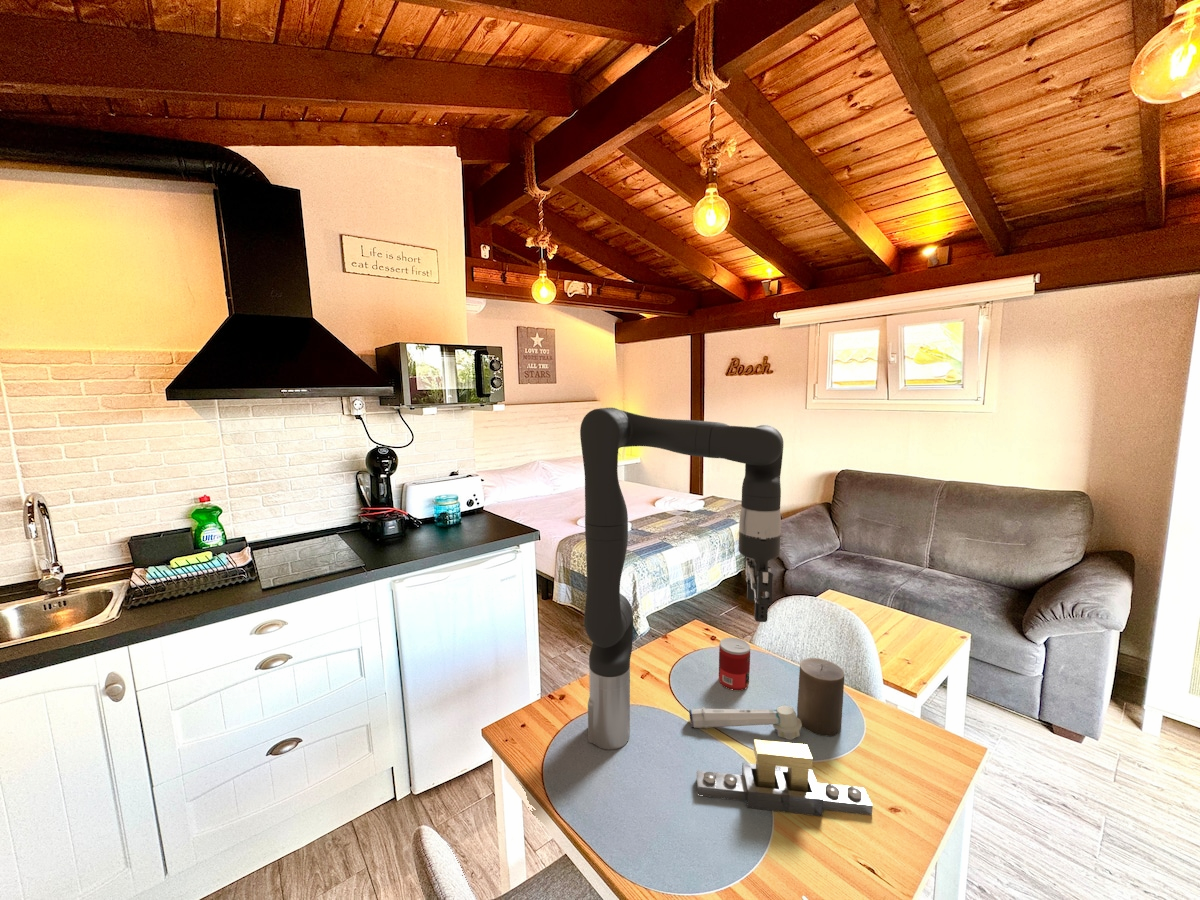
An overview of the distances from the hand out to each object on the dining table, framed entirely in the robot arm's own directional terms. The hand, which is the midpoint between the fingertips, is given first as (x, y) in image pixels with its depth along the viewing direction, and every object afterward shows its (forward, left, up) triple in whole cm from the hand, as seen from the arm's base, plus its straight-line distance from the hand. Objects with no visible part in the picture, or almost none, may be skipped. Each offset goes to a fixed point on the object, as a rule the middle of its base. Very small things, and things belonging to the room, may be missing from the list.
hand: (756, 610), depth 92 cm
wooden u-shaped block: (+5, -4, -36) cm, 37 cm away
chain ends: (+5, -4, -36) cm, 37 cm away
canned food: (+1, +32, -36) cm, 48 cm away
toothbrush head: (+1, +14, -37) cm, 39 cm away
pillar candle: (+19, +19, -36) cm, 45 cm away
